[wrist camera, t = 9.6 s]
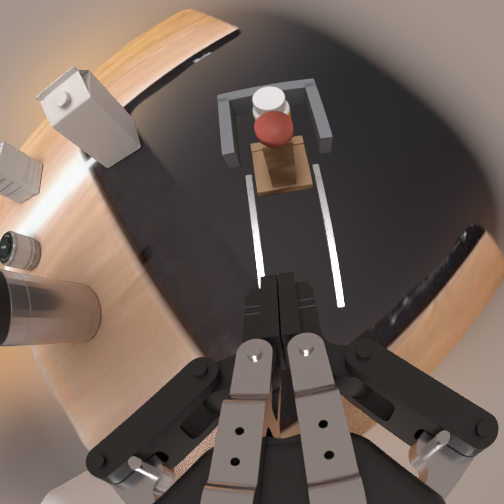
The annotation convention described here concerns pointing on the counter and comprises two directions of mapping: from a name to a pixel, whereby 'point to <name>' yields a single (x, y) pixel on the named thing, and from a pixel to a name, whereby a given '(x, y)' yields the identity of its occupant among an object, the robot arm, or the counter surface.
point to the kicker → (279, 156)
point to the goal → (243, 104)
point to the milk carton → (90, 117)
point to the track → (326, 224)
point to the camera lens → (19, 251)
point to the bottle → (83, 492)
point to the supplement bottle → (269, 101)
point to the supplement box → (18, 174)
